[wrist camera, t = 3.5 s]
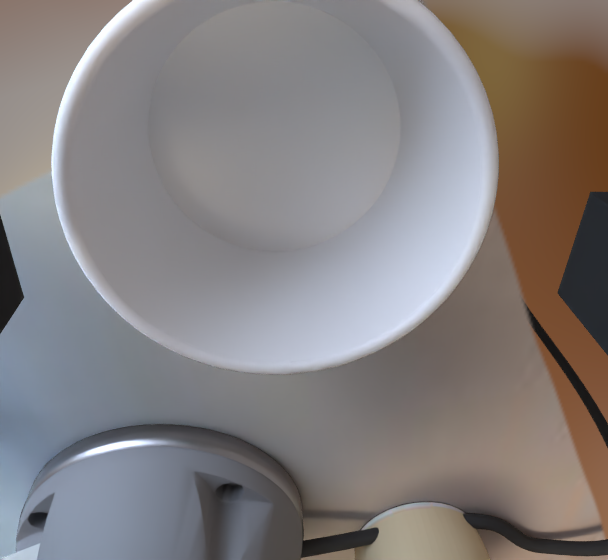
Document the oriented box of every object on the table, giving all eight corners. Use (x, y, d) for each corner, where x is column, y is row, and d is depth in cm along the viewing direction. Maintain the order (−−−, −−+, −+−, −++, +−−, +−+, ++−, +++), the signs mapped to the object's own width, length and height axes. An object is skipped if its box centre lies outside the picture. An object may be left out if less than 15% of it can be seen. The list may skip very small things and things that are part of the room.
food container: (232, -148, 16) (216, -195, 11) (502, 104, 21) (592, 164, 15) (51, 169, 21) (-27, 252, 15) (304, 320, 25) (316, 428, 19)
